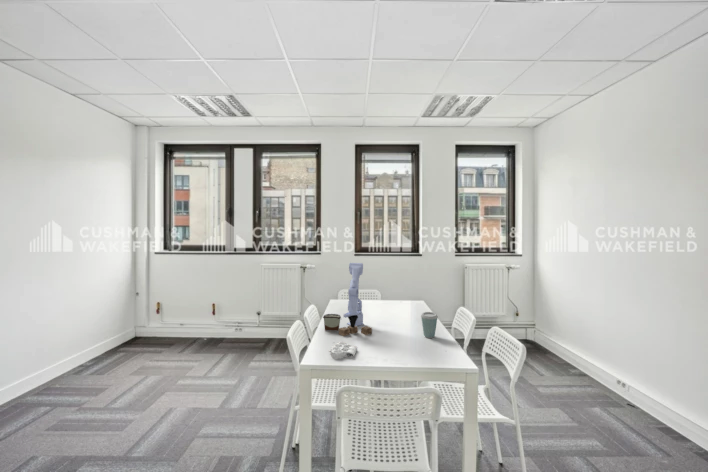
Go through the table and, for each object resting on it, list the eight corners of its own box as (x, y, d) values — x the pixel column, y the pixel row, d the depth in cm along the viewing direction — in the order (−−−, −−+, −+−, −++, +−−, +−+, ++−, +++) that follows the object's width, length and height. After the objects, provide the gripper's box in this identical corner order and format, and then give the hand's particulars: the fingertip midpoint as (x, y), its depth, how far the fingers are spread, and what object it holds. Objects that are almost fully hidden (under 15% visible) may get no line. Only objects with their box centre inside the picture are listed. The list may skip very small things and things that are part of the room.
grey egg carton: (352, 361, 176) (325, 358, 179) (358, 349, 194) (333, 346, 197) (352, 354, 176) (325, 352, 179) (358, 343, 194) (333, 341, 197)
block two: (344, 333, 222) (345, 326, 222) (349, 334, 218) (349, 328, 218) (338, 334, 219) (339, 328, 219) (343, 336, 215) (343, 330, 215)
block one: (366, 332, 225) (366, 325, 225) (371, 333, 221) (371, 327, 221) (360, 333, 222) (361, 327, 222) (366, 335, 218) (366, 329, 218)
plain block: (353, 331, 227) (353, 325, 227) (357, 332, 223) (357, 326, 223) (347, 332, 223) (347, 326, 223) (351, 334, 220) (352, 328, 219)
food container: (342, 328, 231) (342, 314, 231) (340, 331, 225) (341, 316, 225) (324, 327, 232) (324, 313, 232) (322, 330, 226) (322, 315, 226)
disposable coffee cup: (437, 340, 212) (438, 316, 211) (420, 338, 214) (420, 315, 214) (436, 334, 222) (437, 312, 222) (420, 333, 224) (420, 311, 224)
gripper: (348, 308, 215) (348, 330, 215) (365, 305, 224) (364, 326, 225) (341, 306, 220) (341, 327, 221) (358, 303, 230) (357, 323, 230)
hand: (352, 326), depth 223 cm, fingers closed
